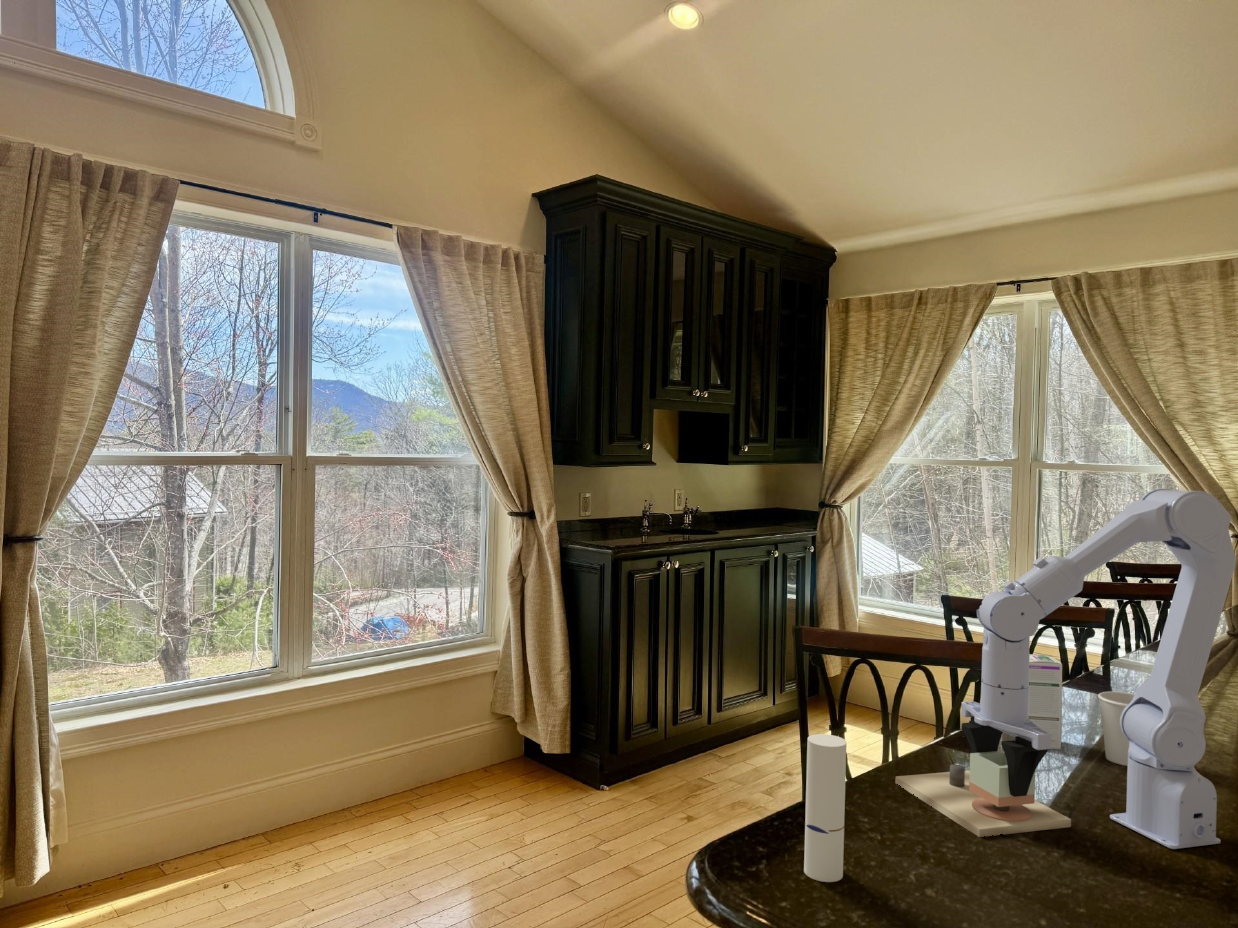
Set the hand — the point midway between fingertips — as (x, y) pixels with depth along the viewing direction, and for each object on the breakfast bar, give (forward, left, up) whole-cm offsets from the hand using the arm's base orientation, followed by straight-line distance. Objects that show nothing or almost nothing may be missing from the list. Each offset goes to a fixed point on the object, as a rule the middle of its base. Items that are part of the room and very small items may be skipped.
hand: (1001, 785), depth 112 cm
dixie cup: (+14, -36, -4) cm, 39 cm away
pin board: (+4, 0, -4) cm, 6 cm away
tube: (-9, +31, -4) cm, 32 cm away
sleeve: (0, 0, -1) cm, 1 cm away
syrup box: (+24, -28, -4) cm, 37 cm away
